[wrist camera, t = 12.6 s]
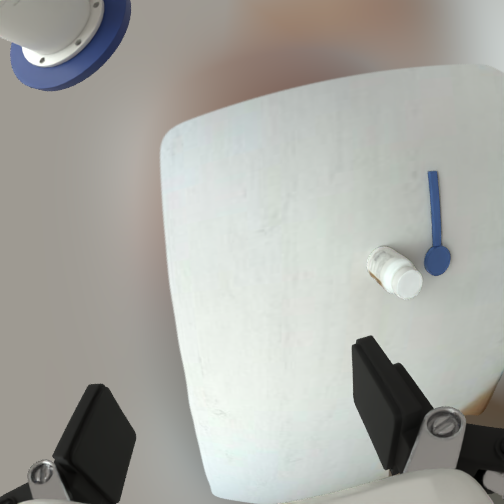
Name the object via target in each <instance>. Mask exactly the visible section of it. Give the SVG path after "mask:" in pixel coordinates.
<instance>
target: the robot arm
mask: <svg viewBox="0 0 504 504" xmlns="http://www.w3.org/2000/svg"><path fill="white" fill-rule="evenodd" d="M103 14H104V1H103V0H0V37H1V38H3V39H6V40H8V41H10V42H13V43H15V44H17V45H20V46H22V50H23V54H24V56H25V58H26V59H27V60H28V62H30V63H32V64H33V65H36V66H38V67H45V68H46V67H54V66H57V65H60V64H62V63H64V62H66V61H68V60H70V59H71V58H73V57H74V56H76V55H77V54H78V53H79V52H80V51H81V50H83V49H84V47H85V46H86V45H87V44H88V43H89V42H90V41H91V39H92V38H93V37H94V35H95V34H96V32H97V30H98V28H99V27H100V24H101V21H102V19H103ZM352 366H353V398H354V402H355V405H356V408H357V410H358V412H359V414H360V416H361V419H362V421H363V423H364V425H365V427H366V430H367V432H368V434H369V436H370V439H371V441H372V443H373V445H374V448H375V450H376V452H377V454H378V457H379V459H380V461H381V463H382V466H383V468H384V469H385V470H388V469H390V471H391V473H392V476H391V477H387V478H383V479H380V480H377V481H373V482H369V483H366V484H362V485H359V486H355V487H352V488H348V489H344V490H341V491H337V492H333V493H328V494H324V495H320V496H315V497H311V498H306V499H301V500H296V501H290V502H285V503H279V504H494V503H493V502H492V500H491V498H490V497H489V496H488V494H492V493H497V494H500V495H502V496H503V497H502V499H504V429H501V428H493V427H486V426H479V425H473V424H467V423H466V420H465V417H464V415H463V414H462V413H461V412H460V411H459V410H457V409H456V408H453V407H438V408H435V409H434V408H433V407H432V405H431V404H430V403H429V401H428V400H427V398H426V397H425V396H424V394H423V393H422V391H421V390H420V389H419V387H418V386H417V384H416V383H415V382H414V380H413V379H412V377H411V376H410V375H409V373H408V372H407V371H406V369H405V368H404V367H403V365H402V364H401V363H396V364H392V363H391V361H390V360H389V359H388V357H387V356H386V354H385V353H384V352H383V350H382V349H381V347H380V346H379V345H378V343H377V342H376V340H375V339H374V338H373V336H367V337H364V338H360V339H357V340H356V344H354V345H352ZM135 441H136V434H135V431H134V430H133V428H132V426H131V425H130V423H129V421H128V420H127V418H126V417H125V415H124V414H123V412H122V410H121V409H120V407H119V405H118V403H117V402H116V400H115V398H114V397H113V395H112V393H111V391H110V390H109V388H108V387H105V385H103V384H91V385H88V387H87V389H86V390H85V393H84V394H83V396H82V398H81V400H80V402H79V404H78V406H77V407H76V410H75V412H74V413H73V415H72V417H71V419H70V421H69V423H68V425H67V427H66V429H65V431H64V433H63V435H62V437H61V439H60V441H59V443H58V445H57V447H56V449H55V451H54V454H53V458H54V459H55V461H54V463H53V462H52V461H50V460H41V461H38V462H36V463H35V464H33V465H32V466H31V467H30V469H29V471H28V475H27V477H28V483H26V484H24V485H22V486H20V487H18V488H16V489H14V490H12V491H10V492H8V493H6V494H4V495H3V496H1V497H0V504H116V503H118V502H119V501H120V497H121V494H122V490H123V486H124V482H125V478H126V474H127V470H128V467H129V463H130V459H131V455H132V452H133V448H134V444H135ZM398 473H400V474H399V475H396V474H398ZM393 475H396V476H393Z"/></svg>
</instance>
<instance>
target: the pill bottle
mask: <svg viewBox="0 0 504 504" xmlns="http://www.w3.org/2000/svg"><path fill="white" fill-rule="evenodd" d="M367 270H368V273H369V274H370V276H371V277H372V278H374V279H375V280H376V281H377V282H378V283H379V284H380V285H381V286H382V287H383V288H384V289H385V290H386V291H388V292H389V293H391V294H397V295H398V296H399V297H400V298H402V299H405V300H408V299H412V298H414V297H415V296H416V295H417V294H418V293H419V292H420V290H421V288H422V285H423V278H422V275H421V273H420V272H419V271H417V270H416V269H415V267H414V265H413V263H412V262H411V261H410V260H408V259H407V258H406V257H404V256H402V255H401V254H399V253H398V252H396V251H395V250H393V249H392V248H390V247H386V246H382V247H378V248H377V249H375V250H374V251H373V252H372V253H371V254H370V256H369V258H368V261H367Z"/></svg>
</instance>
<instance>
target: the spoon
mask: <svg viewBox="0 0 504 504" xmlns="http://www.w3.org/2000/svg"><path fill="white" fill-rule="evenodd" d="M428 178H429V188H430V200H431V215H432V238H433V247H431V248H430V249H429V250H428V252H427V254H426V256H425V260H424V265H425V269H426V270H427V272H429V273H430V274H432V275H434V276H438V275H441V274H443V273H444V272H445V271H446V270H447V268H448V266H449V264H450V258H451V257H450V252H449V250H448V249H447V248H446V247H444V246H442V245H441V217H440V200H439V188H438V177H437V171H429V172H428Z"/></svg>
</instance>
